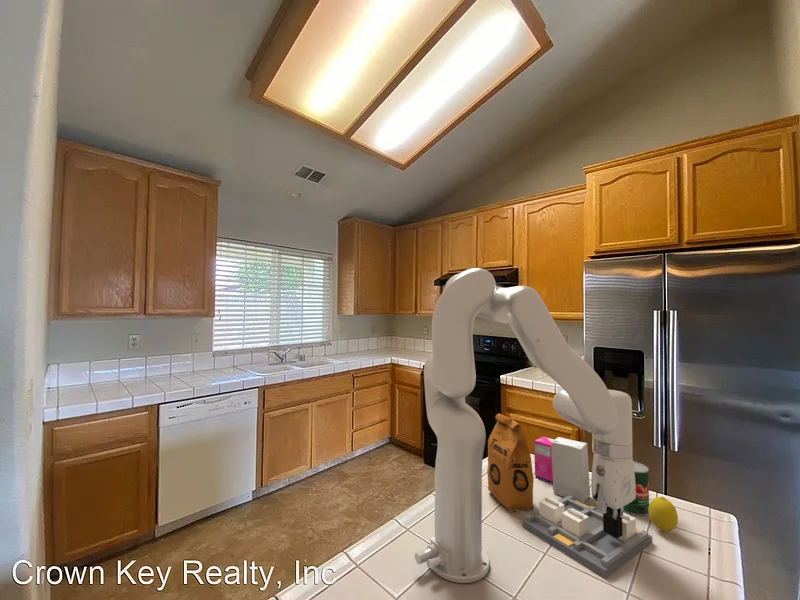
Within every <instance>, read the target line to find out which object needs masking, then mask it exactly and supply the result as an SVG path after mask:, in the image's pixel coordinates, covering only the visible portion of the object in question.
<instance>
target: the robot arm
mask: <svg viewBox="0 0 800 600" xmlns="http://www.w3.org/2000/svg"><path fill="white" fill-rule="evenodd" d="M443 288H444V289H443V291H442V293H441V294H440V295H439V297H438V299H437V302H436V304H435V306H434V309H433V313H432V317H431V345H432V346H431V350H432V352H431V353H430V354H429V355H428V356H427V358H426V360H425V362H424V366H423V380H424V381H423V382H424V397H425V407H426V409H425V410H426V416H427V421H428V424H429V426H430V427H431V429H432V431H433V432H434V434H435V436H436V439H437V447H436V448H437V449H436V456H435V457H436V458H435V466H434V467H435V468H434V535H433V536H432V537H430V538H429V539H430V543H429V544H428V545H427V546H426V549H422V550H420V551H418V552H416V553H415V554H414V559H415V563H416V564H417V565H419V566H420V565H422V564H424V563H426V562H427V563H428V567H429V568H430V569H431V570H432V571H433V572H434V574H436V575H437V576H438V577H441V578H442V579H444V580H447V581H450V582H453V583H457V584H458V583H459V584H469V583H470V584H471V583H474V582H478V581H480V580H481V579H483V578H484V577H485V576H487V574H488V572H489V570H490V562H491V561H490V556H489V554H488V552H487V550H486V549H485V548H484V547H483V545H482V543H483V542H482V541H483V540H482V538H483V537H482V533H483V532H482V528H483V527H482V521H483V518H482V517H483V516H482V515H483V514H482V511H483V508H482V507H483V506H482V504H483V501H482V499H483V495H482V493H483V490H482V489H483V486H482V485H483V482H482V481H483V478H482V477H483V461H484V460H483V458H484V451H485V447H486V437H487V436H486V428H485V425H484V422H483V420H482V418H481V417H480V414H478V412H477V411H476V410H475V409H474V408H473V407H472V406H470V405H469V404H468V403H466V397H467V396H469V395H471V393H472V392H473V390H474V388H475V386H476V379H477V374H476V364H475V363H476V362H475V353H474V342H473V341H474V340H473V335H474V333H473V332H474V331H473V330H474V323H475V319H476V317H479V318H482V319H485V320H489V321H492V322H497V323H501V324H508V325H509V327H510V329H511V330H512V331H513V333H514V335H515V337H516V339H517V341H518V342H519V344H520V345H521V348H522V349H523V351H524V352H525V355H526V356H527V358H528V360H529V361H530V362H531V363H532V364H533V365H534V366H535V367H536V368H537V369H539V370H540V371H541V372H542V373H544V374H545V375H547V376H548V377H549V378H551V379H552V380H553V381H554V382H556V383H557V385H558V386H560V387H561V389H560V390H559V391H557V392H556V393H555V395H554V396H553V397H552V398H553V399H552V407H553V409H554V412H555V413H556V415H558V416H559V417H560V418H561V419H564V420H565V421H566V422H568V423H570V424H572V425H575V426H577V427H579V428H581V429H583V430H585V431H587V432H589V433H591V434H592V435H591V436H592V438H591V439H592V440H591V441H592V443H591V445H592V453H593V458H592V465H591V466H592V467H591V482H590V483H591V484H590V486H591V487H590V490H591V491H590V492H591V498H592V501H594V502H596V510H597V511H599V512H601V513H603V530H604V532H606V533H608V534H610V535H612V536H614V537H616V538H619V537H621V536H622V516H623V513H624V511H623V509H624V506H625V505H627V504H629V503H630V502H632V501H633V500H634V499H635V498H636V486H635V472H634V464H633V461H634V460H633V408H632V407H633V402H632V398H631V396H630V395H629V394H628V393H626V392H624V391H621V390H615V389H608V387H607V386H606V384H605V382H604V380H602V378H601V377H600V375H598V373H597V372H596V371H595V370H594V369H593V367H592V366H590V364H588V362H586V361H585V359H584V358H582V356H580V354H579V353H577V351H575V349H573V348H572V347H571V346H570V345H569V343H568V342H567V341H566V339H565V338H564V335H563V333H562V332H561V330H560V329H559V327H558V325H557V324H556V322H555V320H554V318H553V316H552V315H551V313H550V311H549V309H548V307H547V306H546V304H545V302H544V301H543V299H542V297H541V295H540V293H538V292H537V290H536V289H534V288H533V287H531V286H527V285H516V286H509V287H503V286H498V285H497V284H496V280H495V277H494V275H493V274H492V273H491V272H490V271H489V270H487V269H484V268H481V267H475V268H473V267H471V268H469V269H466V270H464V271H461V272H459V273H457V274H454V275H453V276H451V277H450V278H449V279H448V280H447V281H446V283H445V285H444V287H443ZM620 516H621V517H620Z"/></svg>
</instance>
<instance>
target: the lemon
mask: <svg viewBox="0 0 800 600" xmlns="http://www.w3.org/2000/svg"><path fill="white" fill-rule="evenodd" d="M648 512H649V514H648V517H649V519H650V521H651V523H652V524H653V525H654V526H655V528H658V529H659V530H660V531H661V532H662V533H665V532H671V531H673V530H675V529H676V528H677V526H678V523H679V522H678V521H679V518H678V516H679V515H678V511H677V509H676V506H674V504H673V503H672V502H671V501H670V500H668V499H667V498H665V497H664V496H656V497H654V498H652V499H651V500H650V501H649V508H648Z"/></svg>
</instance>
